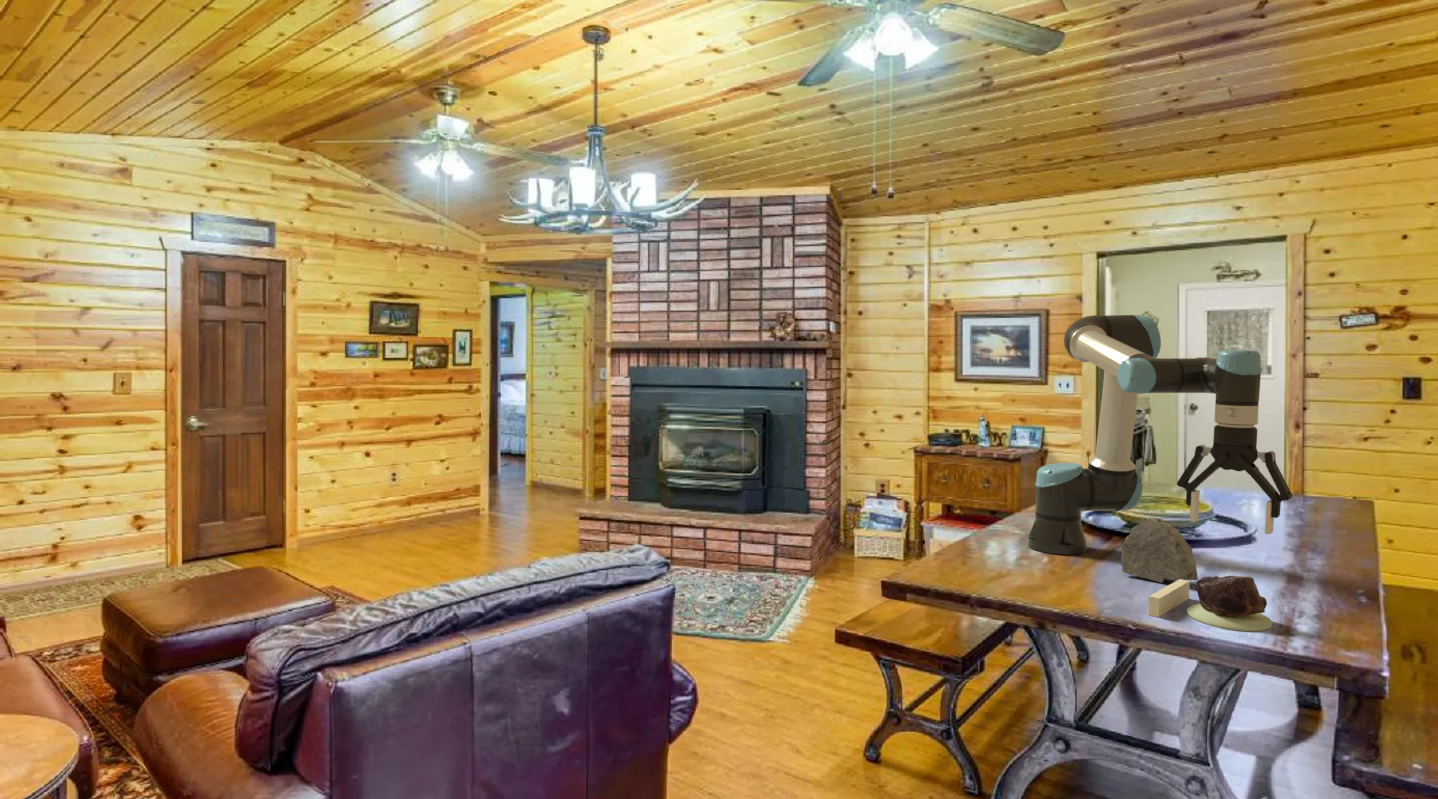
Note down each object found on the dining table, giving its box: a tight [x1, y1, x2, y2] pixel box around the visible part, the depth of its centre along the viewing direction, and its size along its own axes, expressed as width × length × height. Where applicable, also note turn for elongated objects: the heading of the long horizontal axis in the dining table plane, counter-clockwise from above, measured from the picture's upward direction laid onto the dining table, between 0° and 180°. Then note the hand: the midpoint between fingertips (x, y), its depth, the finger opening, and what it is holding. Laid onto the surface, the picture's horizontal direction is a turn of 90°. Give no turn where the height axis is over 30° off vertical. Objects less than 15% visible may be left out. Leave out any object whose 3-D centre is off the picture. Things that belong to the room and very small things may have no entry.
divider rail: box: [1147, 579, 1191, 618], centre depth 174 cm, size 2×18×4 cm, turn 132°
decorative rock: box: [1120, 517, 1199, 583], centre depth 193 cm, size 16×7×15 cm, turn 43°
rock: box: [1193, 575, 1268, 617], centre depth 167 cm, size 12×9×10 cm
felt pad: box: [1186, 603, 1273, 632], centre depth 167 cm, size 15×15×1 cm
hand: (1230, 527), depth 167 cm, fingers open, 13 cm apart
